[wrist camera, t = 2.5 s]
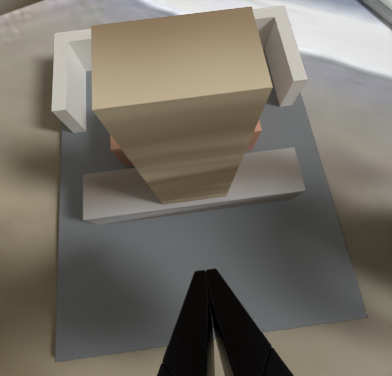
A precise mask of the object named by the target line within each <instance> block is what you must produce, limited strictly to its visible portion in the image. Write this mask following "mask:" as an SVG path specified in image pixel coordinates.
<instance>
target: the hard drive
mask: <svg viewBox="0 0 392 376" xmlns="http://www.w3.org/2000/svg"><path fill="white" fill-rule="evenodd" d="M362 1H363V2H364V3H365V4H367V5H368V6H369V7H370V8H372V9H373V10H374V11H375V12H376V13H378V14H379V15H380V16H381V17H382V18H384V19H385V20H386V21H387V22H388V23H390V24H391V25H392V0H362Z"/></svg>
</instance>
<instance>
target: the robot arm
mask: <svg viewBox="0 0 392 376" xmlns="http://www.w3.org/2000/svg"><path fill="white" fill-rule="evenodd" d="M206 278H207V279H206ZM207 285H208V286H207ZM210 307H211V308H210ZM212 322H213V323H212ZM213 328H214V333H213ZM214 334H215V338H216V342H217V346H218V350H219V354H220V358H221V362H222V366H223V370H224V374H225V376H294V375H293V374H292V373H291V371H290V370H289V369H288V367H287V366H286V365H285V363H284V362H283V361H282V359H281V358H280V357H279V355H278V354H277V353H276V351H275V350H274V348H271V344H270V343H269V341H268V340H267V339H266V337H265V336H264V334H263V333H262V332H261V330H260V329H259V327H258V326H257V325H256V323H255V322H254V320H253V319H252V318H251V316H250V315H249V313H248V312H247V311H246V309H245V308H244V306H243V305H242V304H241V302H240V301H239V299H238V298H237V297H236V295H235V294H234V292H233V291H232V290H231V288H230V287H229V285H228V284H227V283H226V281H225V280H224V278H223V277H222V276H221V274H220V273H219V271H218V270H217V269H216V268H213V269H207V270H206V272H205V270H199V271H195V272H194V274H193V277H192V280H191V282H190V285H189V288H188V291H187V294H186V296H185V299H184V302H183V305H182V308H181V310H180V313H179V316H178V319H177V322H176V324H175V327H174V330H173V333H172V336H171V338H170V341H169V344H168V347H167V350H166V352H165V355H164V358H163V363H162V364H161V366H160V369H159V372H158V374H157V376H215V368H214Z"/></svg>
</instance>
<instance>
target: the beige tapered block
mask: <svg viewBox="0 0 392 376" xmlns="http://www.w3.org/2000/svg"><path fill="white" fill-rule="evenodd" d="M91 58H92V110H93V112H94V113H95V114H96V116H97V117H98V118H99V120H100V121H101V122H102V124H103V125H104V126H105V128H106V129H107V131H108V132H109V133H110V135H111V136H112V137H113V139H114V140H115V141H116V143H117V144H118V145H119V147H120V148H121V149H122V151H123V152H124V153H125V155H126V156H127V157H128V159H129V160H130V161H131V163H132V164H133V165H134V167H135V168H130V169H123V170H115V171H107V172H100V173H92V174H84V175H83V220H84V221H88V222H91V223H94V224H98V225H104V224H112V223H119V222H127V221H134V220H142V219H149V218H157V217H164V216H172V215H179V214H187V213H194V212H202V211H209V210H216V209H224V208H231V207H239V206H246V205H254V204H261V203H269V202H276V201H284V200H291V199H293V198H294V197H296V196H298V195H299V194H301V193H302V192H304V191H306V189H305V185H304V182H303V178H302V174H301V171H300V167H299V163H298V160H297V156H296V152H295V148H294V147H292V148H284V149H276V150H269V151H261V152H253V153H245V151H246V149H247V147H248V144H249V142H250V140H251V137H252V135H253V132H254V130H255V128H256V125H257V123H258V121H259V118H260V116H261V114H262V111H263V109H264V107H265V104H266V102H267V100H268V97H269V95H270V93H271V90H272V88H273V86H272V82H271V78H270V74H269V71H268V67H267V63H266V59H265V55H264V52H263V48H262V44H261V40H260V36H259V33H258V29H257V25H256V21H255V17H254V14H253V10H252V7H244V8H236V9H228V10H219V11H211V12H202V13H194V14H186V15H177V16H169V17H161V18H152V19H144V20H136V21H127V22H119V23H111V24H102V25H94V26H91Z"/></svg>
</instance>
